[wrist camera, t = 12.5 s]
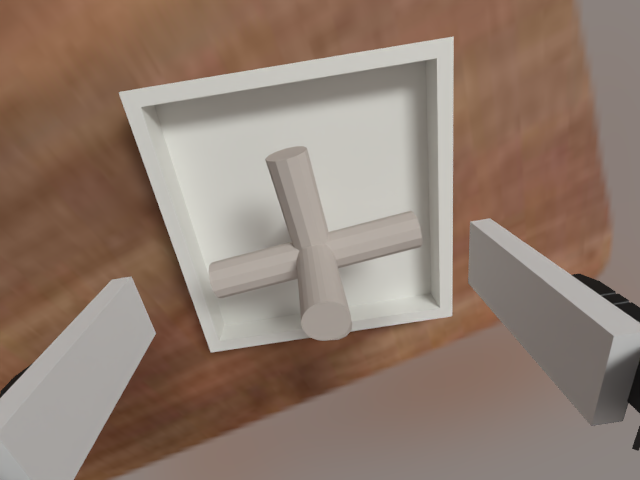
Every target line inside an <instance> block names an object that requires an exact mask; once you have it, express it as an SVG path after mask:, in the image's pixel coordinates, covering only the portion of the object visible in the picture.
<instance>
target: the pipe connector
mask: <svg viewBox="0 0 640 480" xmlns="http://www.w3.org/2000/svg"><path fill="white" fill-rule="evenodd" d="M265 160H266V163H267V166H268V170H269V173H270V176H271V179H272V182H273V185H274V188H275V191H276V195H277V198H278V201H279V204H280V207H281V210H282V213H283V217H284V220H285V223H286V226H287V229H288V232H289V235H290V238H291V242H288V243H284V244H280V245H276V246H273V247H269V248H265V249H261V250H257V251H253V252H250V253H246V254H242V255H238V256H234V257H230V258H226V259H223V260H219V261H215V262H212V263H211V264H210V265H209V272H208V273H209V279H210V284H211V287H212V290H213V292H214V293H215V295H216V296H217V297H218V298H225V297H228V296H232V295H236V294H240V293H244V292H248V291H252V290H256V289H260V288H263V287H267V286H271V285H275V284H279V283H283V282H287V281H291V280H295V279H298V288H299V301H300V314H301V325H302V329H303V331H304V332H305V333H306V334H307V335H308V336H309V337H311V338H313V339H316V340H323V341H326V340H339V339H341V338H343V337H345V336H347V335H348V334H349V332H350V331H351V330H352V321H351V314H350V311H349V307H348V303H347V300H346V296H345V292H344V288H343V285H342V281H341V277H340V273H339V270H338V268H341V267H345V266H349V265H353V264H357V263H361V262H365V261H369V260H372V259H376V258H380V257H384V256H388V255H392V254H396V253H400V252H404V251H407V250H411V249H415V248H419V247H421V246H422V234H421V229H420V226H419V223H418V220H417V217H416V216H415V214H414V212H412V211H407V212H403V213H400V214H396V215H392V216H388V217H384V218H380V219H377V220H373V221H369V222H365V223H361V224H357V225H353V226H350V227H346V228H342V229H338V230H334V231H330V232H328V228H327V224H326V220H325V216H324V212H323V208H322V204H321V201H320V197H319V193H318V189H317V185H316V181H315V177H314V173H313V169H312V165H311V162H310V158H309V154H308V150H307V148H306V147H304V146H296V147H291V148H286V149H283V150H280V151H277V152H274V153H272V154H270V155H269V156H267V158H266V159H265Z"/></svg>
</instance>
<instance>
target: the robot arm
mask: <svg viewBox="0 0 640 480" xmlns="http://www.w3.org/2000/svg"><path fill="white" fill-rule="evenodd" d="M468 283H469V284H470V286H471V287H472V288H473V289H474V290H475V291H476V293H477V294H478V295H479V296H480V297H481V298H482V300H483V301H484V302H485V303H486V304H487V305H488V307H489V308H490V309H491V310H492V311H493V312H494V314H495V315H496V316H497V317H498V318H499V319H500V320H501V322H502V323H503V324H504V325H505V326H506V327H507V328H508V330H509V331H510V332H511V333H512V334H513V335H514V337H515V338H516V339H517V340H518V341H519V343H520V344H521V345H522V346H523V347H524V348H525V349H526V351H527V352H528V353H529V354H530V355H531V356H532V358H533V359H534V360H535V361H536V362H537V363H538V365H539V366H540V367H541V368H542V369H543V370H544V371H545V373H546V374H547V375H548V376H549V377H550V379H551V380H552V381H553V382H554V383H555V384H556V386H558V388H559V389H560V390H561V391H562V392H563V394H564V395H565V396H566V397H567V398H568V399H569V401H570V402H571V403H572V404H573V405H574V406H575V408H576V409H577V410H578V411H579V412H580V413H581V415H582V416H583V417H584V418H585V419H586V420H587V422H588V423H589V424H590V425H591V426H595V425H601V424H608V423H614V422H619V421H623V419H624V416H625V412H626V409H627V406H628V403H630V404H631V405H632V406H633V407H634V408H635V409H636V410H637V411H638V412H639V413H640V308H639V307H638V306H637V305H635V304H633V303H629V300H627V299H626V298H624V297H623V296H621V295H620V294H616V293H615V291H613V290H612V289H611V288H609V287H607V286H606V285H604V284H603V283H601V282H600V281H597V280H595V279H592V278H589V277H587V276H584V275H582V274H574V275H570V274H569V273H568V272H566V271H565V270H563V269H562V268H560V267H559V266H557V265H556V264H555V263H553V262H552V261H550V260H549V259H547V258H546V257H545V256H543V255H542V254H540V253H539V252H537V251H536V250H535V249H533V248H532V247H530V246H529V245H527V244H526V243H524V242H523V241H522V240H520V239H519V238H517V237H516V236H514V235H513V234H512V233H510V232H509V231H507V230H506V229H504V228H503V227H502V226H500V225H499V224H497V223H496V222H494V221H493V220H492V219H484V220H478V221H472V222H470V245H469V277H468ZM155 334H156V332H155V330H154V328H153V325H152V323H151V321H150V318H149V316H148V314H147V312H146V309H145V307H144V305H143V302H142V300H141V298H140V295H139V293H138V291H137V288H136V286H135V284H134V281H133V279H132V277H126V278H120V279H113V280H111V281H110V282H109V283H108V284H107V285H106V286H105V287H104V289H103V290H102V291H101V292H100V293H99V294H98V295H97V296H96V297H95V298H94V299H93V300H92V301H91V302H90V303H89V304H88V306H87V307H86V308H85V309H84V310H83V311H82V312H81V313H80V314H79V315H78V316H77V317H76V318H75V319H74V320H73V321H72V323H71V324H70V325H69V326H68V327H67V328H66V329H65V330H64V331H63V332H62V333H61V334H60V335H59V336H58V337H57V338H56V340H55V341H54V342H53V343H52V344H51V345H50V346H49V347H48V348H47V349H46V350H45V351H44V352H43V353H42V354H41V355H40V357H39V358H38V359H37V360H36V361H35V362H34V363H33V364H31V365H30V366H29V367H27V368H26V369H24V370H23V371H22V372H20V373H19V374H18V375H16V376H15V377H14V378H13V379H12V380H11V381H10V382H9V383H8V384H7V385H6V386H5V387H4V388H3V389H2V390H1V391H0V392H1V394H0V480H74V478H75V476H76V475H77V473H78V471H79V469H80V467H81V466H82V464H83V462H84V460H85V459H86V457H87V455H88V453H89V451H90V450H91V448H92V446H93V444H94V443H95V441H96V439H97V437H98V435H99V434H100V432H101V430H102V428H103V427H104V425H105V423H106V421H107V419H108V418H109V416H110V414H111V412H112V411H113V409H114V407H115V405H116V403H117V402H118V400H119V398H120V396H121V395H122V393H123V391H124V389H125V387H126V386H127V384H128V382H129V380H130V379H131V377H132V375H133V373H134V371H135V370H136V368H137V366H138V364H139V363H140V361H141V359H142V357H143V355H144V354H145V352H146V350H147V348H148V347H149V345H150V343H151V341H152V339H153V338H154V336H155ZM639 448H640V426H639V429H638V432H637V436H636V438H635V441H634V445H633V448H632V449H635V450H639Z"/></svg>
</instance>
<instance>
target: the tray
mask: <svg viewBox="0 0 640 480" xmlns="http://www.w3.org/2000/svg"><path fill="white" fill-rule="evenodd" d="M453 39H454V37H448V38H442V39H436V40H430V41H424V42H418V43H412V44H406V45H400V46H394V47H388V48H382V49H376V50H370V51H364V52H358V53H352V54H346V55H340V56H334V57H328V58H322V59H316V60H310V61H304V62H298V63H292V64H286V65H279V66H273V67H267V68H261V69H255V70H249V71H243V72H237V73H231V74H225V75H219V76H213V77H207V78H201V79H195V80H189V81H183V82H177V83H171V84H165V85H159V86H153V87H147V88H141V89H135V90H129V91H123V92H119V95H120V98H121V101H122V103H123V106H124V109H125V112H126V115H127V118H128V120H129V123H130V126H131V129H132V132H133V134H134V137H135V140H136V143H137V146H138V149H139V151H140V154H141V157H142V160H143V163H144V166H145V168H146V171H147V174H148V177H149V180H150V182H151V185H152V188H153V191H154V194H155V197H156V199H157V202H158V205H159V208H160V211H161V213H162V216H163V219H164V222H165V225H166V228H167V230H168V233H169V236H170V239H171V242H172V245H173V247H174V250H175V253H176V256H177V259H178V261H179V264H180V267H181V270H182V273H183V276H184V278H185V281H186V284H187V287H188V290H189V292H190V295H191V298H192V301H193V304H194V307H195V309H196V312H197V315H198V318H199V321H200V323H201V326H202V329H203V332H204V335H205V338H206V340H207V343H208V346H209V349H210V352H218V351H224V350H231V349H238V348H244V347H251V346H257V345H264V344H271V343H277V342H284V341H291V340H297V339H304V338H311V337H309V336H308V335H307V334H306V333H305V332H304V331H303V329H302V325H301V314H300V301H299V288H298V279H295V280H291V281H287V282H283V283H279V284H275V285H271V286H267V287H263V288H260V289H256V290H252V291H248V292H244V293H240V294H236V295H232V296H228V297H225V298H218V297H217V296H216V295H215V293H214V292H213V290H212V287H211V284H210V279H209V273H208V272H209V265H210V264H211V263H212V262H215V261H219V260H223V259H226V258H230V257H234V256H238V255H242V254H246V253H250V252H253V251H257V250H261V249H265V248H269V247H273V246H276V245H280V244H284V243H288V242H291V238H290V235H289V232H288V229H287V226H286V223H285V220H284V217H283V213H282V210H281V207H280V204H279V201H278V198H277V195H276V191H275V188H274V185H273V182H272V179H271V176H270V173H269V170H268V166H267V163H266V160H265V159H266V158H267V156H269V155H270V154H272V153H274V152H277V151H280V150H283V149H286V148H291V147H296V146H304V147H306V148H307V150H308V154H309V158H310V162H311V165H312V169H313V173H314V177H315V181H316V185H317V189H318V193H319V197H320V201H321V204H322V208H323V212H324V216H325V220H326V224H327V228H328V232H330V231H334V230H338V229H342V228H346V227H350V226H353V225H357V224H361V223H365V222H369V221H373V220H377V219H380V218H384V217H388V216H392V215H396V214H400V213H403V212H407V211H412V212H414V214H415V216H416V217H417V220H418V223H419V226H420V229H421V234H422V246H421V247H419V248H415V249H411V250H407V251H404V252H400V253H396V254H392V255H388V256H384V257H380V258H376V259H372V260H369V261H365V262H361V263H357V264H353V265H349V266H345V267H341V268H338V270H339V273H340V277H341V281H342V285H343V288H344V292H345V296H346V300H347V303H348V307H349V311H350V314H351V321H352V330H351V331H357V330H364V329H370V328H377V327H384V326H390V325H397V324H404V323H410V322H417V321H424V320H430V319H437V318H444V317H450V316H452V252H453ZM351 331H350V332H351Z"/></svg>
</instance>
